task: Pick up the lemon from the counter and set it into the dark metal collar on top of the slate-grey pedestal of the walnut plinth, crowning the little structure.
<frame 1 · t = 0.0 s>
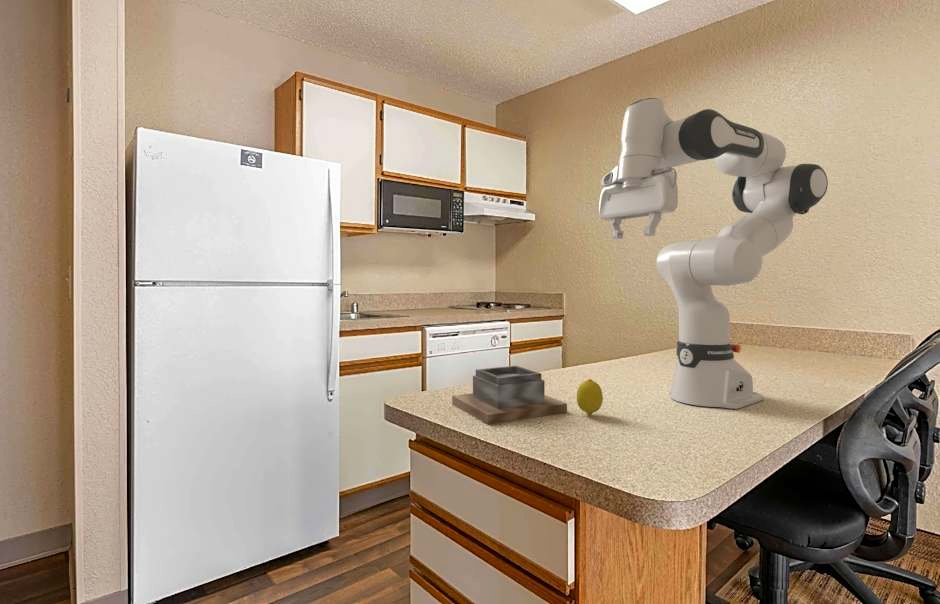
hand: (632, 237, 109), 39 cm above the counter, tool pointing down, fingers open, 8 cm apart
lemon: (589, 416, 108), on the counter
plinth: (507, 408, 114), on the counter
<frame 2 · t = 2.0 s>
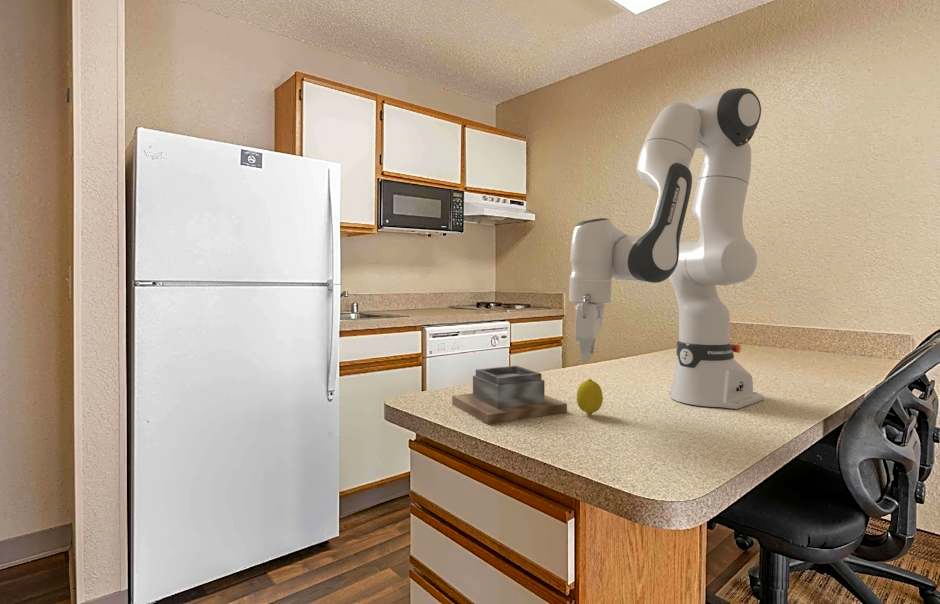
hand: (587, 357, 107), 13 cm above the counter, tool pointing down, fingers open, 8 cm apart
nothing on the counter moved.
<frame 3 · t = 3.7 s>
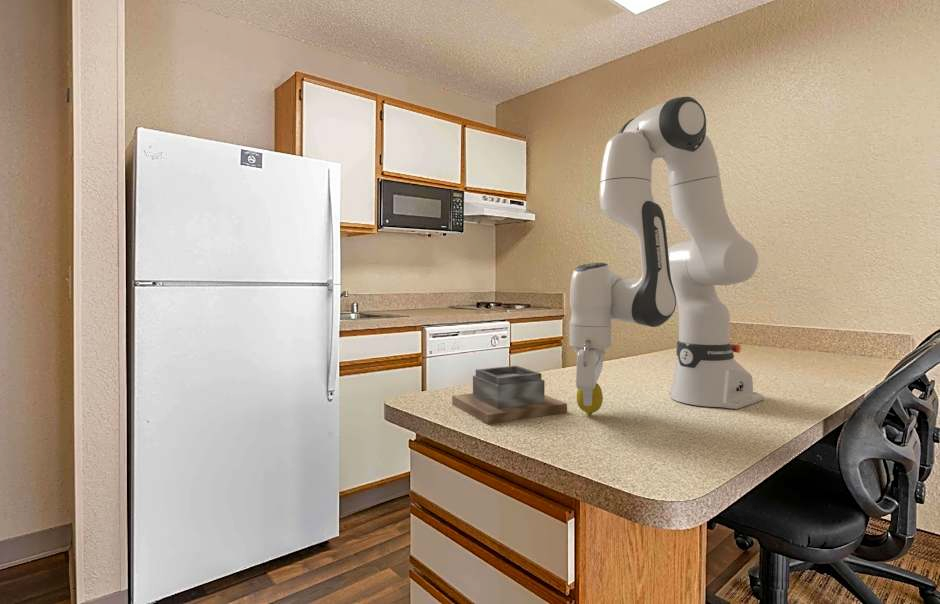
hand: (589, 401, 108), 3 cm above the counter, tool pointing down, fingers closed on lemon, 5 cm apart
lemon: (589, 416, 108), on the counter, touching gripper
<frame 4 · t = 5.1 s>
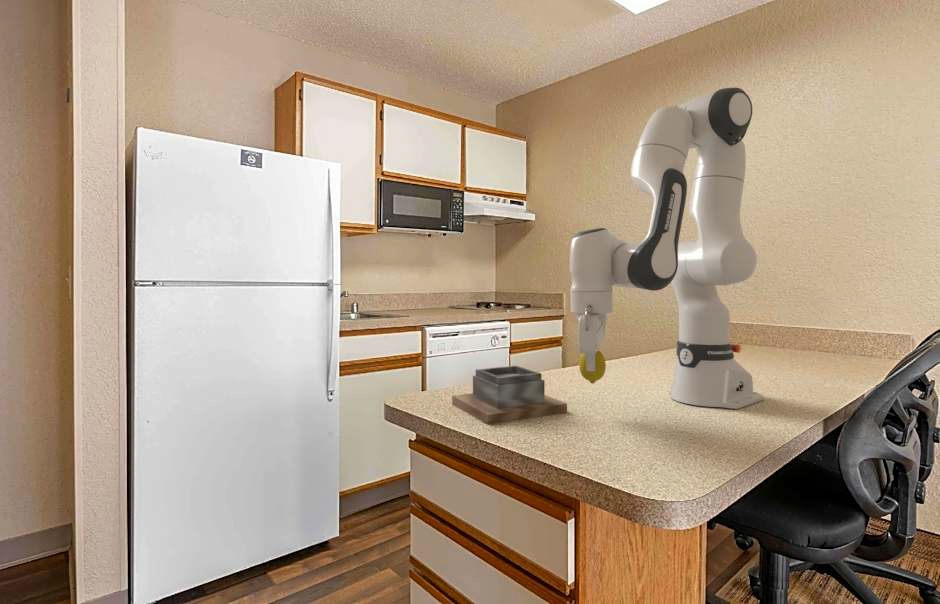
hand: (592, 367, 108), 10 cm above the counter, tool pointing down, fingers closed on lemon, 5 cm apart
lemon: (592, 384, 108), point 7 cm above the counter, touching gripper
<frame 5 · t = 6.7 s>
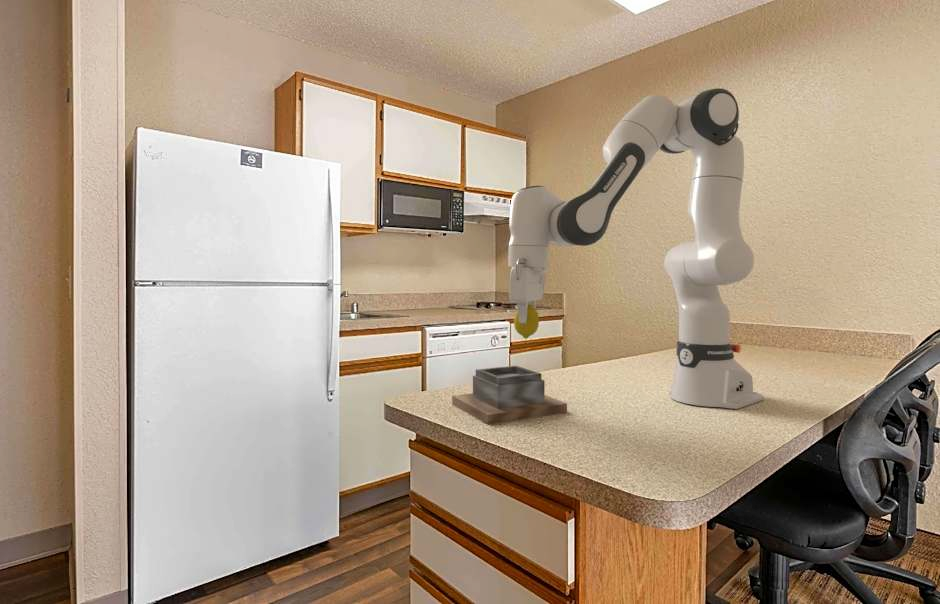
hand: (526, 321, 111), 20 cm above the counter, tool pointing down, fingers closed on lemon, 5 cm apart
lemon: (525, 339, 112), point 16 cm above the counter, touching gripper
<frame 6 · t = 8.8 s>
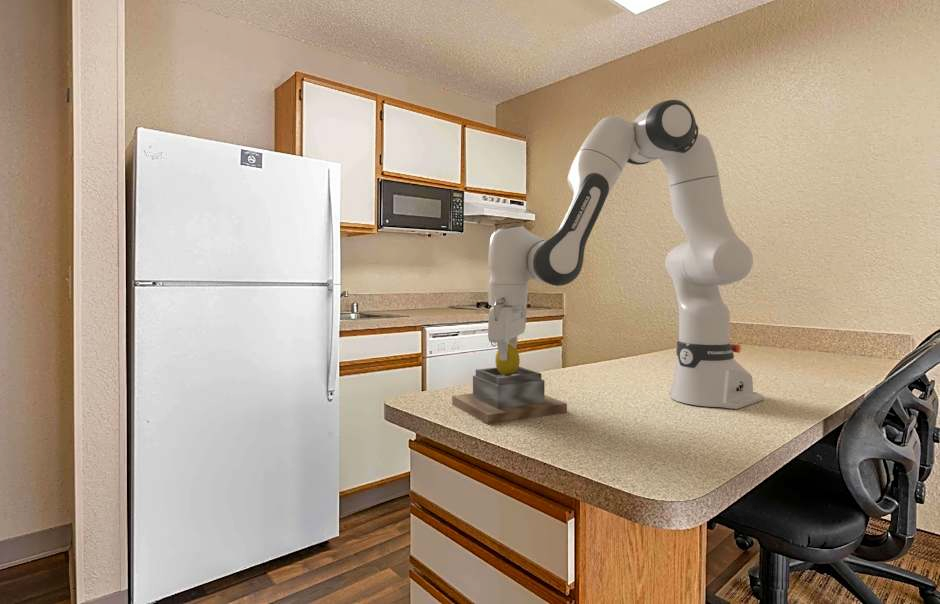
hand: (507, 357, 114), 12 cm above the counter, tool pointing down, fingers closed on lemon, 5 cm apart
lemon: (507, 378, 114), point 7 cm above the counter, touching gripper, plinth
when the fingers open (12 cm above the counter, at t = 9.5 s): lemon stays where it is, resting on plinth.
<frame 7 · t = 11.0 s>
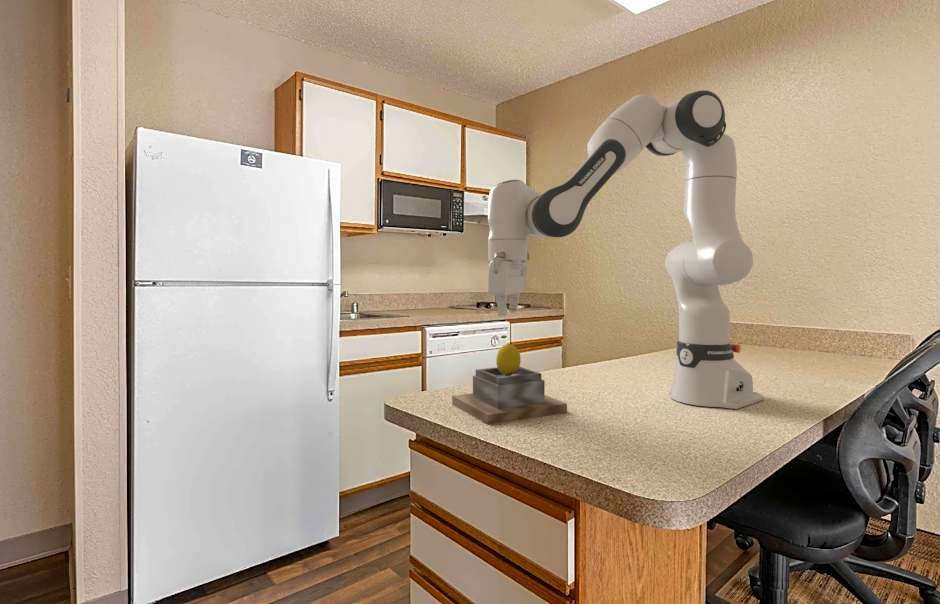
hand: (508, 314, 113), 22 cm above the counter, tool pointing down, fingers open, 8 cm apart
lemon: (507, 378, 114), point 7 cm above the counter, touching plinth
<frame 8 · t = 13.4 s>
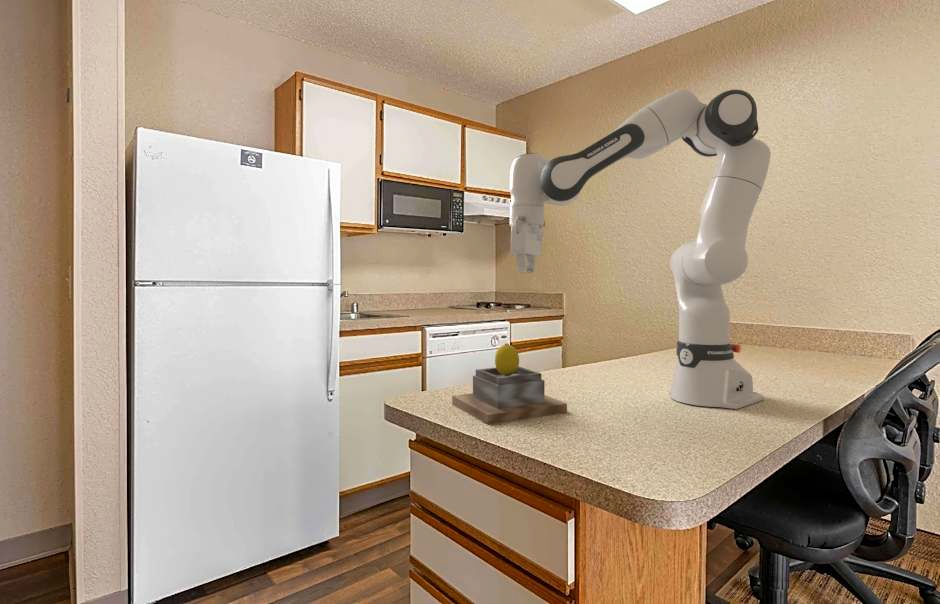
hand: (526, 273, 128), 31 cm above the counter, tool pointing down, fingers open, 8 cm apart
nothing on the counter moved.
at the end: lemon inside the target area on the plinth (0.1 cm from its centre), point 6.8 cm above the plinth's base; the gripper is holding nothing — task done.
